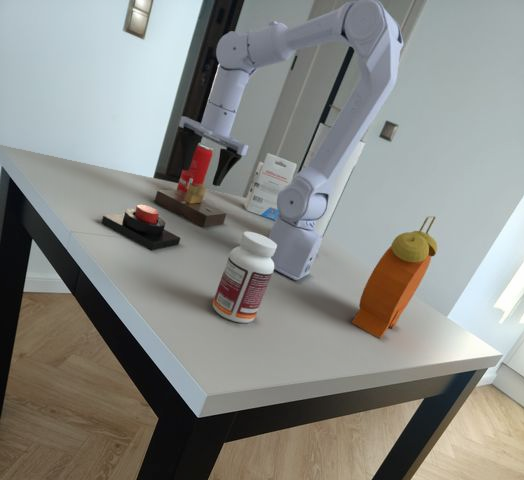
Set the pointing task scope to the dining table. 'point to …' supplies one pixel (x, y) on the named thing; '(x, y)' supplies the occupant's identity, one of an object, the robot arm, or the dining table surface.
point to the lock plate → (190, 208)
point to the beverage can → (196, 168)
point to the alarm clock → (395, 281)
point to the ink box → (269, 186)
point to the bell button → (146, 213)
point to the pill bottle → (245, 278)
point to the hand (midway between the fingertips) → (200, 177)
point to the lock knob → (195, 193)
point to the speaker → (340, 179)
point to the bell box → (141, 230)
